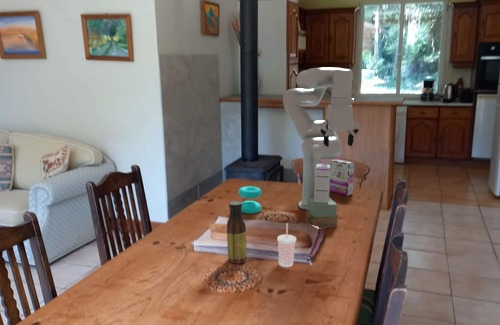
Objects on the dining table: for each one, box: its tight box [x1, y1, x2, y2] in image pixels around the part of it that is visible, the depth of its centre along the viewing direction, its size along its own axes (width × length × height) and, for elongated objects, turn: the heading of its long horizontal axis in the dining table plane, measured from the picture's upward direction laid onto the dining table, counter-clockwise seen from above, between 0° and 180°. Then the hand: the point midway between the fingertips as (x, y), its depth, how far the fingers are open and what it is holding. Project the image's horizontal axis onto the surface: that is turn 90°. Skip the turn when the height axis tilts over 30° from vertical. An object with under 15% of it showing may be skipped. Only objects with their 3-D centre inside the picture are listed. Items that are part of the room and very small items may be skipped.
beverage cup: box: [276, 222, 297, 268], centre depth 141 cm, size 6×6×14 cm
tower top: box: [307, 196, 338, 217], centre depth 176 cm, size 9×9×5 cm
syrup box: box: [314, 163, 331, 203], centre depth 174 cm, size 6×6×14 cm
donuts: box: [237, 185, 262, 214], centre depth 192 cm, size 10×10×10 cm
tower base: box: [305, 210, 338, 230], centre depth 177 cm, size 9×9×5 cm
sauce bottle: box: [226, 200, 248, 265], centre depth 142 cm, size 7×6×20 cm
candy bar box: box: [329, 158, 355, 197], centre depth 218 cm, size 11×5×16 cm, turn 43°
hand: (338, 145), depth 172 cm, fingers open, 9 cm apart
